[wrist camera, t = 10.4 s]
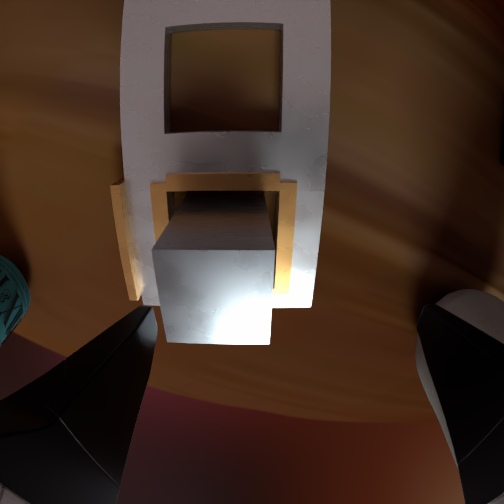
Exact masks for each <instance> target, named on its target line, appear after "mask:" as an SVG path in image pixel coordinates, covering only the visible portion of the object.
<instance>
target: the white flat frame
mask: <svg viewBox="0 0 504 504" xmlns="http://www.w3.org/2000/svg"><path fill="white" fill-rule="evenodd" d="M212 29H271V30H281V48H280V103H279V131H269V130H207V131H182V132H171V129H170V54H171V33H174V32H184V31H196V30H212ZM330 82H331V11H330V0H124V9H123V21H122V36H121V59H120V115H121V139H122V155H123V168H124V177H123V178H122V179H120V180H118V181H117V182H115V183H114V184H112V185H111V186H110V188H111V196H112V204H113V212H114V219H115V225H116V232H117V238H118V244H119V250H120V255H121V261H122V266H123V271H124V276H125V281H126V285H127V290H128V294H129V299H130V300H136V301H138V299H139V297H140V295H141V294H142V299H143V304H144V305H157V306H160V302H159V296H158V290H157V284H156V278H155V271H154V265H153V258H152V251H151V250H152V248H153V246H154V245H155V243H156V242H157V240H158V238H159V237H160V235H161V234H162V232H163V231H164V229H165V227H166V226H167V224H168V223H169V221H170V220H171V218H172V217H173V215H174V214H175V210H174V195H173V191H277V196H276V219H275V240H274V247H275V263H274V281H273V298H272V308H288V307H311V303H312V296H313V289H314V281H315V274H316V266H317V258H318V249H319V241H320V231H321V222H322V212H323V201H324V190H325V178H326V165H327V150H328V133H329V112H330Z"/></svg>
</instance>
